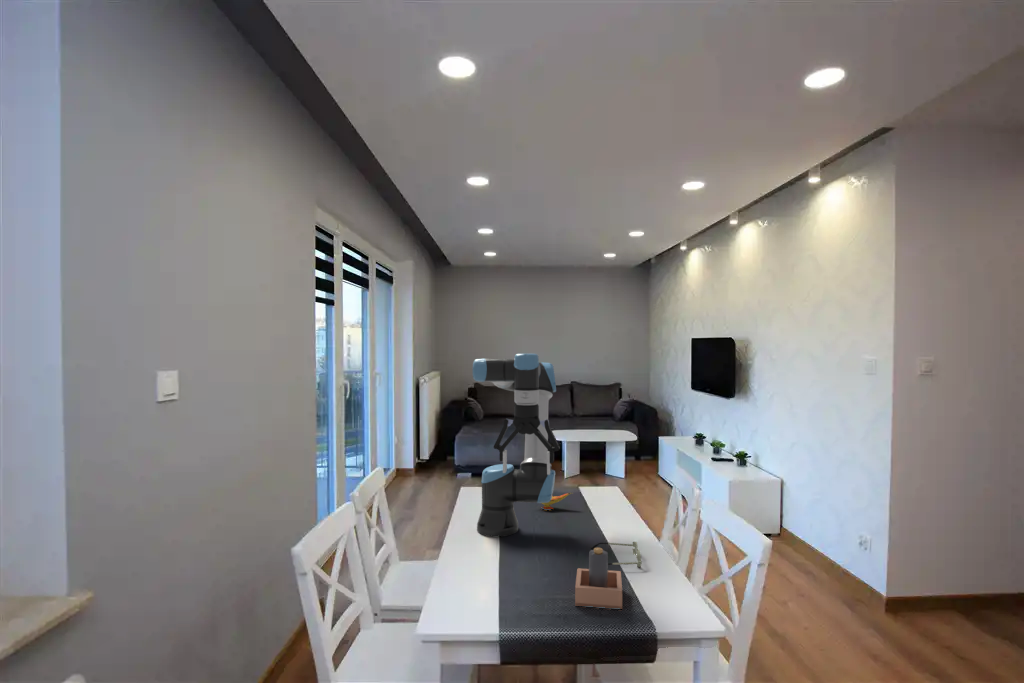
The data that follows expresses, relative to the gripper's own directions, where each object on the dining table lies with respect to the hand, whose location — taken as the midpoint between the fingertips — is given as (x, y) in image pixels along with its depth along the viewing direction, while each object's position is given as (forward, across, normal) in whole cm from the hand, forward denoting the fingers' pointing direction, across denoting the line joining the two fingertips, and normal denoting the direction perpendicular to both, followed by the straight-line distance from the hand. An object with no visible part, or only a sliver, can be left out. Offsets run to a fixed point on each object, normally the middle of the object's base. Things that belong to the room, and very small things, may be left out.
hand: (526, 472), depth 166 cm
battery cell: (+28, +22, -17) cm, 39 cm away
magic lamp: (+29, +2, +58) cm, 65 cm away
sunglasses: (+29, +27, +9) cm, 41 cm away
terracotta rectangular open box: (+29, +22, -17) cm, 40 cm away
